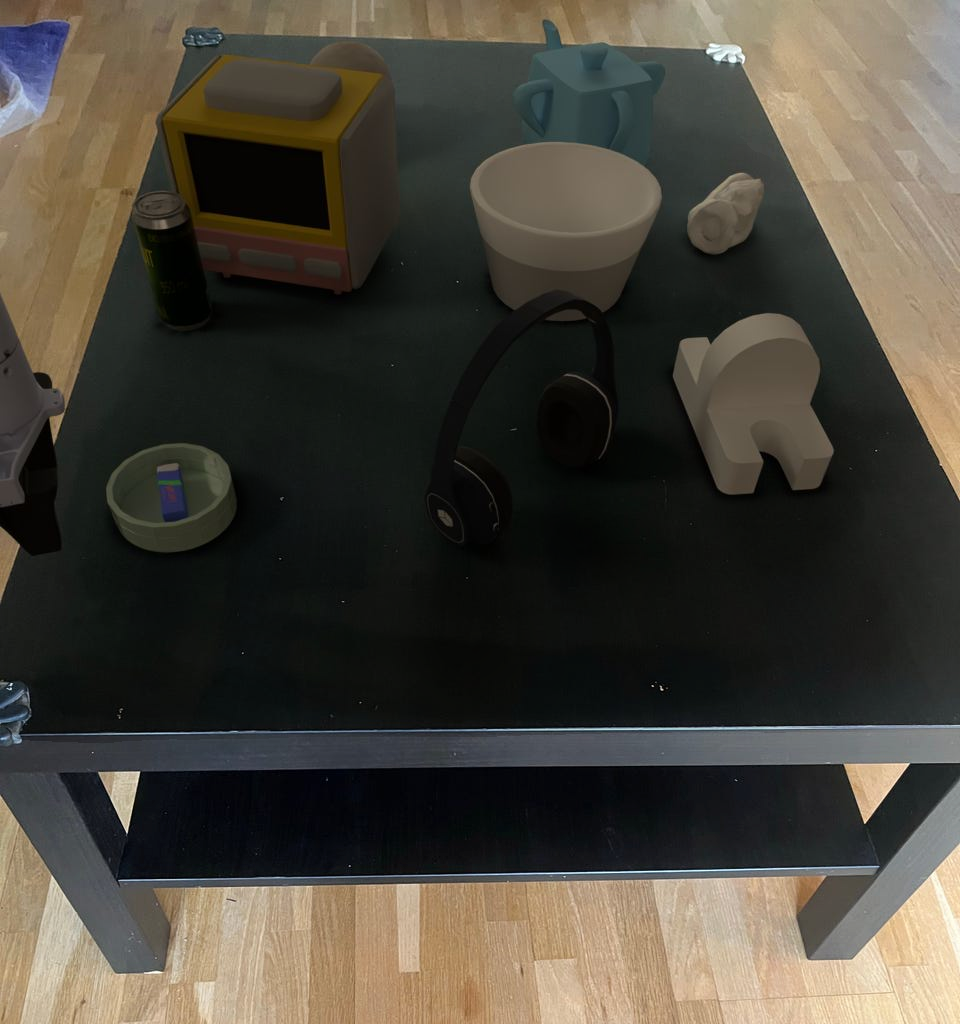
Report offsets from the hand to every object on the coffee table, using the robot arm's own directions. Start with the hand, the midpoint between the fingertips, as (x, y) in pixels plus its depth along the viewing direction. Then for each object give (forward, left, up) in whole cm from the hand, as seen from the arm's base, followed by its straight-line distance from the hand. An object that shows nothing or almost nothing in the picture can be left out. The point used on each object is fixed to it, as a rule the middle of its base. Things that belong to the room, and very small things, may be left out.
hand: (44, 511), depth 68 cm
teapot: (+63, +58, -10) cm, 86 cm away
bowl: (+51, +32, -10) cm, 61 cm away
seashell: (+36, +70, -10) cm, 79 cm away
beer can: (+12, +36, -10) cm, 39 cm away
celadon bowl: (+8, +8, -9) cm, 15 cm away
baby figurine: (+73, +37, -10) cm, 82 cm away
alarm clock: (+25, +44, -10) cm, 52 cm away
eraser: (+8, +8, -9) cm, 15 cm away
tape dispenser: (+60, +5, -10) cm, 61 cm away
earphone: (+37, +2, -10) cm, 38 cm away
